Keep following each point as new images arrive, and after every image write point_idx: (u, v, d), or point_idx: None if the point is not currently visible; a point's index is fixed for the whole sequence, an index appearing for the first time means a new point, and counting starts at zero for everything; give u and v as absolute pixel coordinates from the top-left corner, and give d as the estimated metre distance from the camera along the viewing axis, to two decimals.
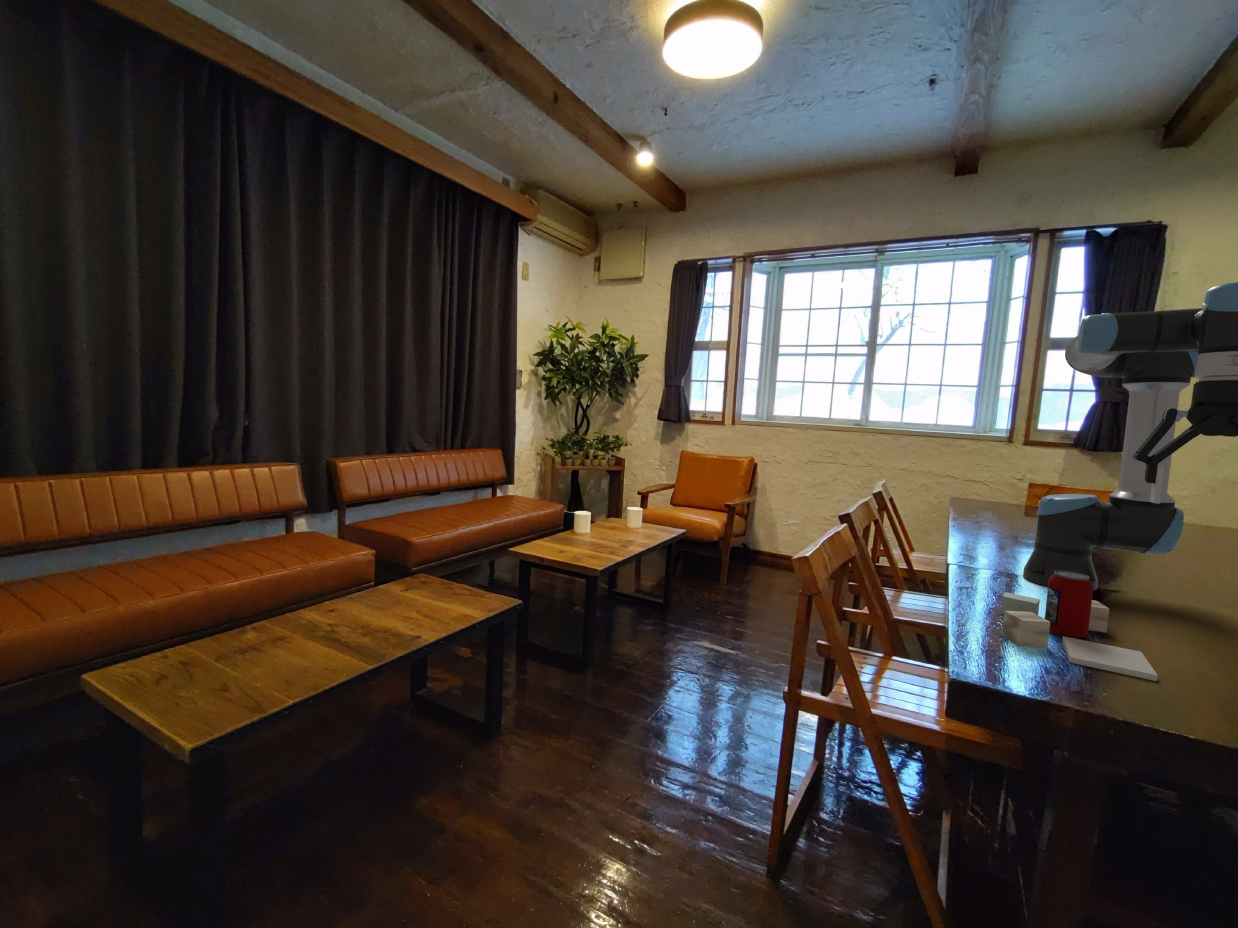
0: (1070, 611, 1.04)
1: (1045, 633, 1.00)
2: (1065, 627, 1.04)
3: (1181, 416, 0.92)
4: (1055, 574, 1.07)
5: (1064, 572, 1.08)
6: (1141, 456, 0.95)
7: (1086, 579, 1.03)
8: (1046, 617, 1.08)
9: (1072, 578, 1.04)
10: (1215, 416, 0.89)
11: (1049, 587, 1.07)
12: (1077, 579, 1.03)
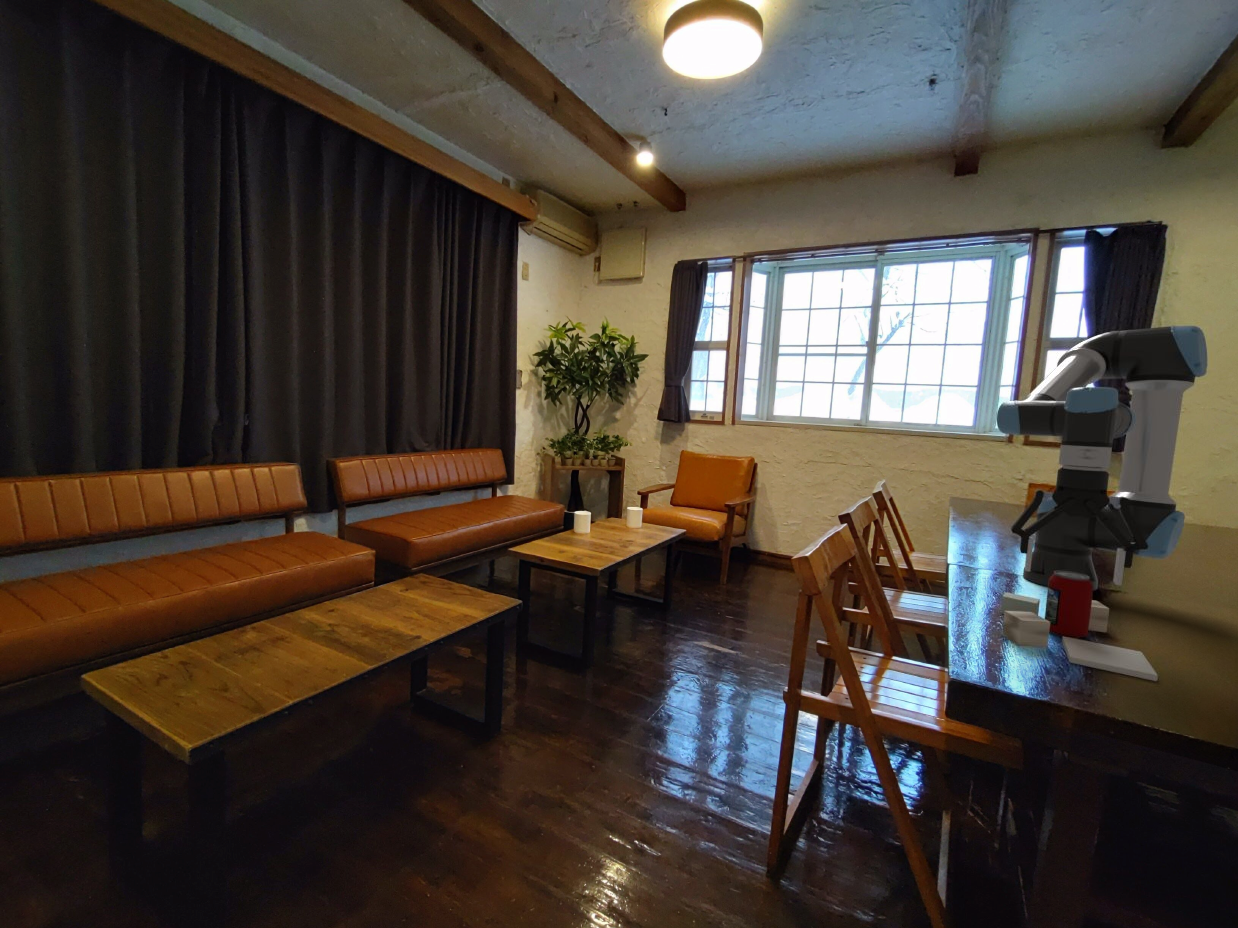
0: (1070, 611, 1.04)
1: (1044, 633, 1.00)
2: (1065, 627, 1.04)
3: (1047, 497, 1.07)
4: (1055, 574, 1.07)
5: (1064, 572, 1.08)
6: (1015, 530, 1.09)
7: (1086, 579, 1.03)
8: (1046, 617, 1.08)
9: (1072, 578, 1.04)
10: (1072, 499, 1.04)
11: (1049, 587, 1.07)
12: (1077, 579, 1.03)
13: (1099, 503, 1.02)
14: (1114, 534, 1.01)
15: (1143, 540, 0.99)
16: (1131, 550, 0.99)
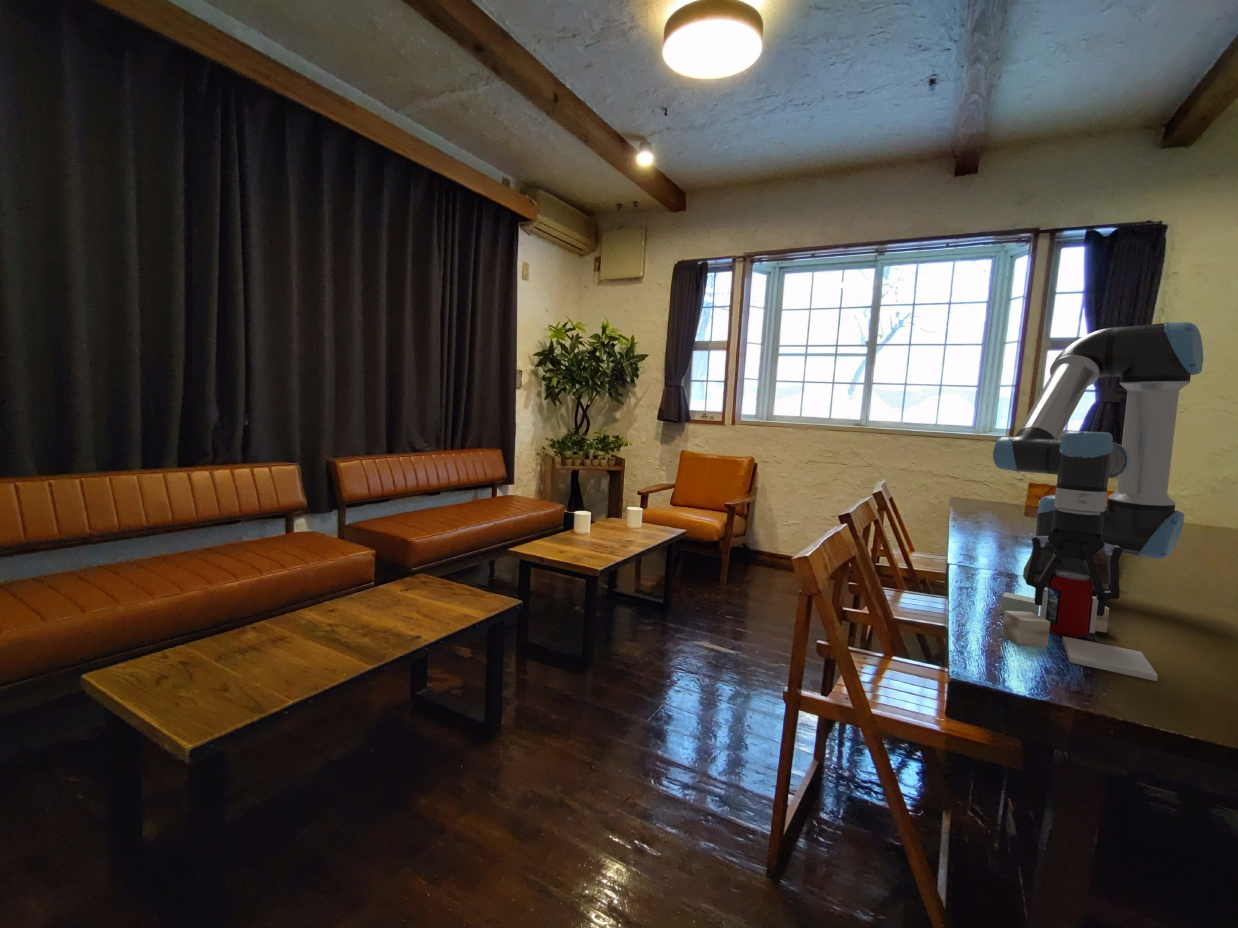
0: (1070, 611, 1.04)
1: (1044, 633, 1.00)
2: (1065, 627, 1.04)
3: (1044, 542, 1.08)
4: (1055, 574, 1.07)
5: (1064, 572, 1.08)
6: (1029, 581, 1.09)
7: (1086, 579, 1.03)
8: (1046, 617, 1.08)
9: (1072, 578, 1.04)
10: (1067, 542, 1.04)
11: (1049, 587, 1.07)
12: (1077, 579, 1.03)
13: (1093, 545, 1.03)
14: (1094, 580, 1.03)
15: (1117, 590, 1.01)
16: (1102, 599, 1.02)
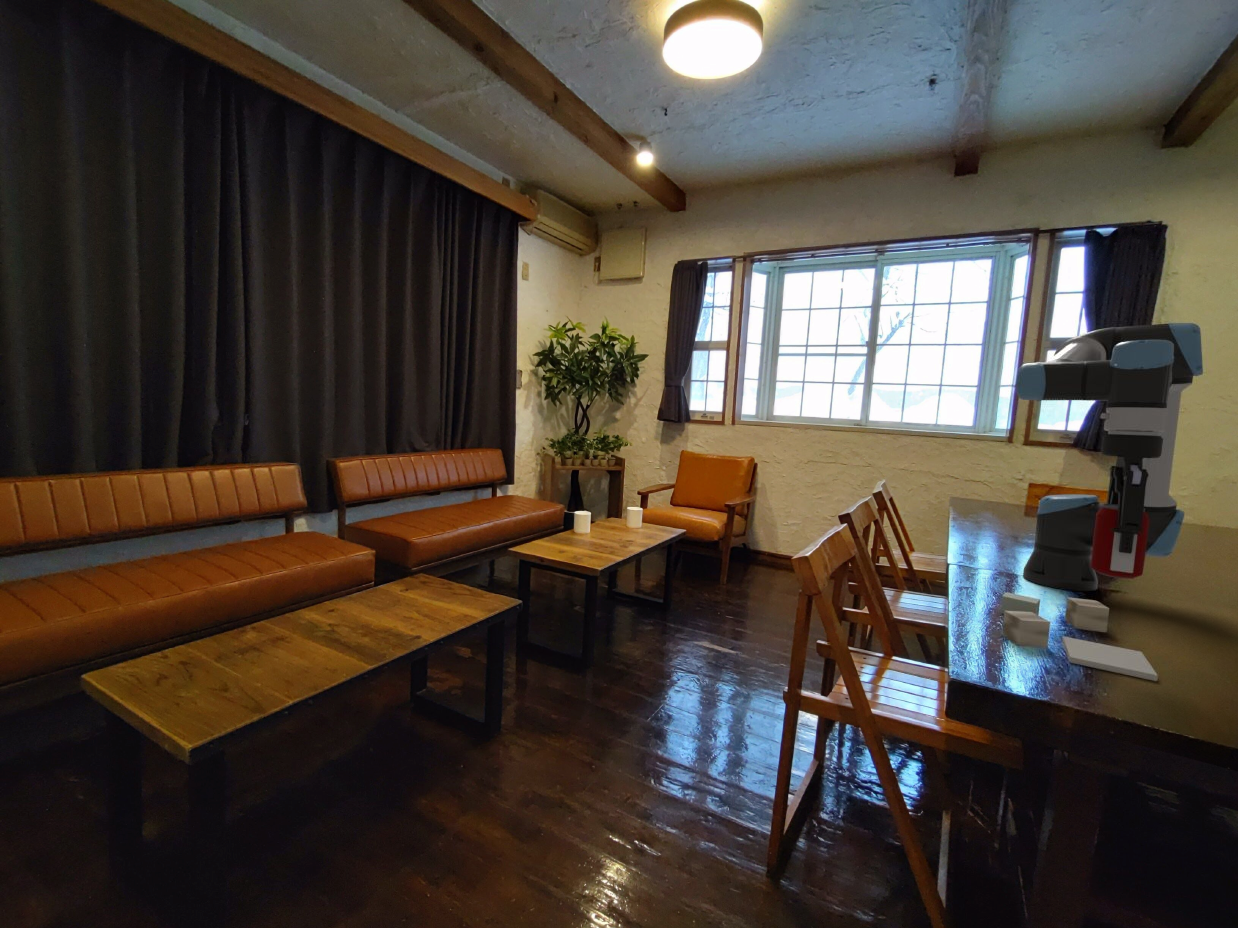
0: (1093, 540, 0.95)
1: (1044, 633, 1.00)
2: (1091, 558, 0.96)
3: None
4: None
5: None
6: None
7: (1112, 508, 0.92)
8: None
9: None
10: (1111, 467, 0.94)
11: None
12: (1103, 506, 0.94)
13: (1122, 470, 0.91)
14: (1118, 510, 0.91)
15: (1121, 520, 0.88)
16: (1111, 529, 0.90)
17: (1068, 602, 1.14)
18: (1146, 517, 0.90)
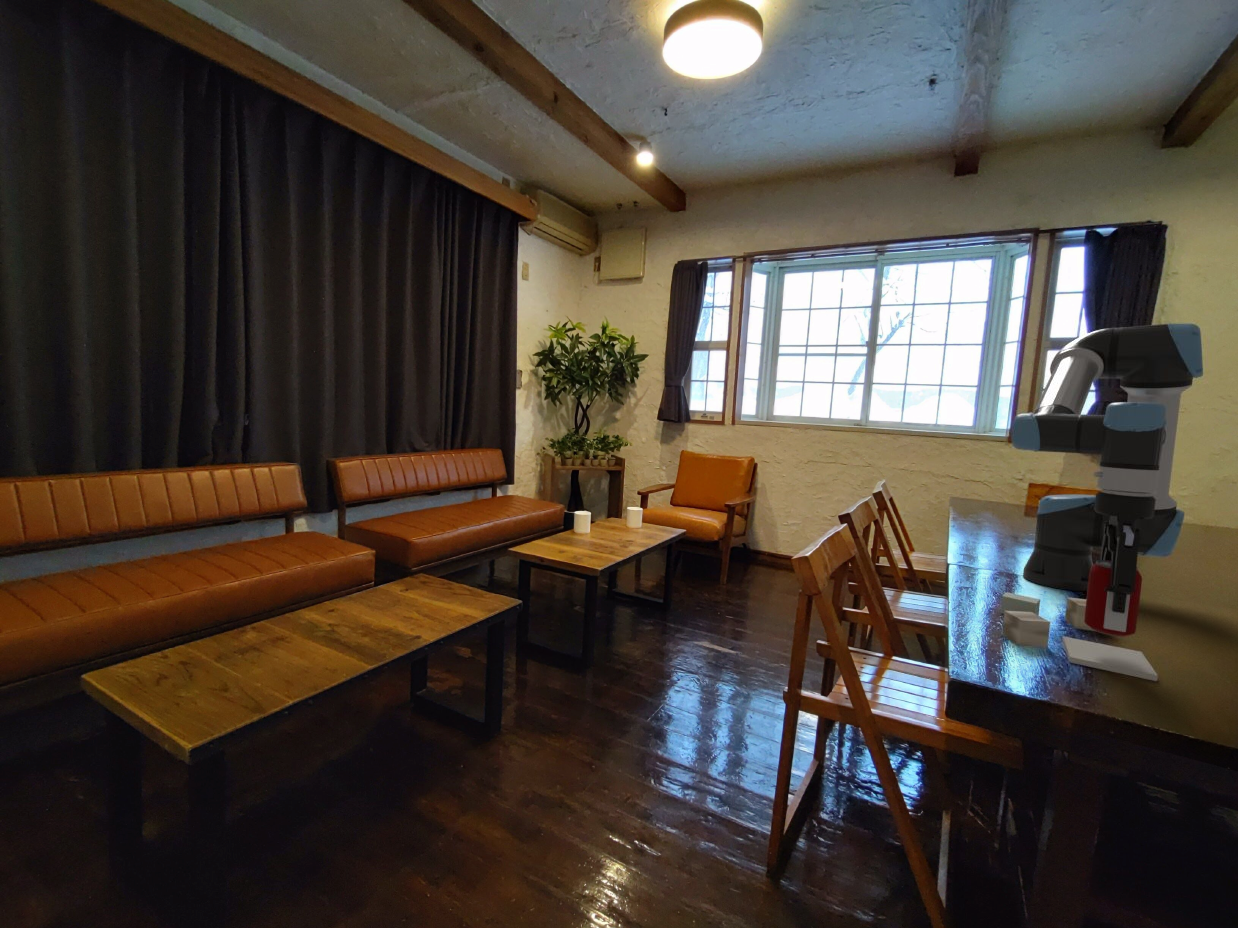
0: None
1: (1044, 633, 1.00)
2: None
3: None
4: None
5: None
6: None
7: (1105, 566, 0.93)
8: None
9: (1096, 562, 0.95)
10: (1104, 524, 0.95)
11: None
12: (1097, 563, 0.95)
13: (1115, 529, 0.92)
14: (1111, 569, 0.92)
15: (1114, 581, 0.89)
16: (1104, 588, 0.91)
17: (1068, 602, 1.14)
18: (1139, 576, 0.91)
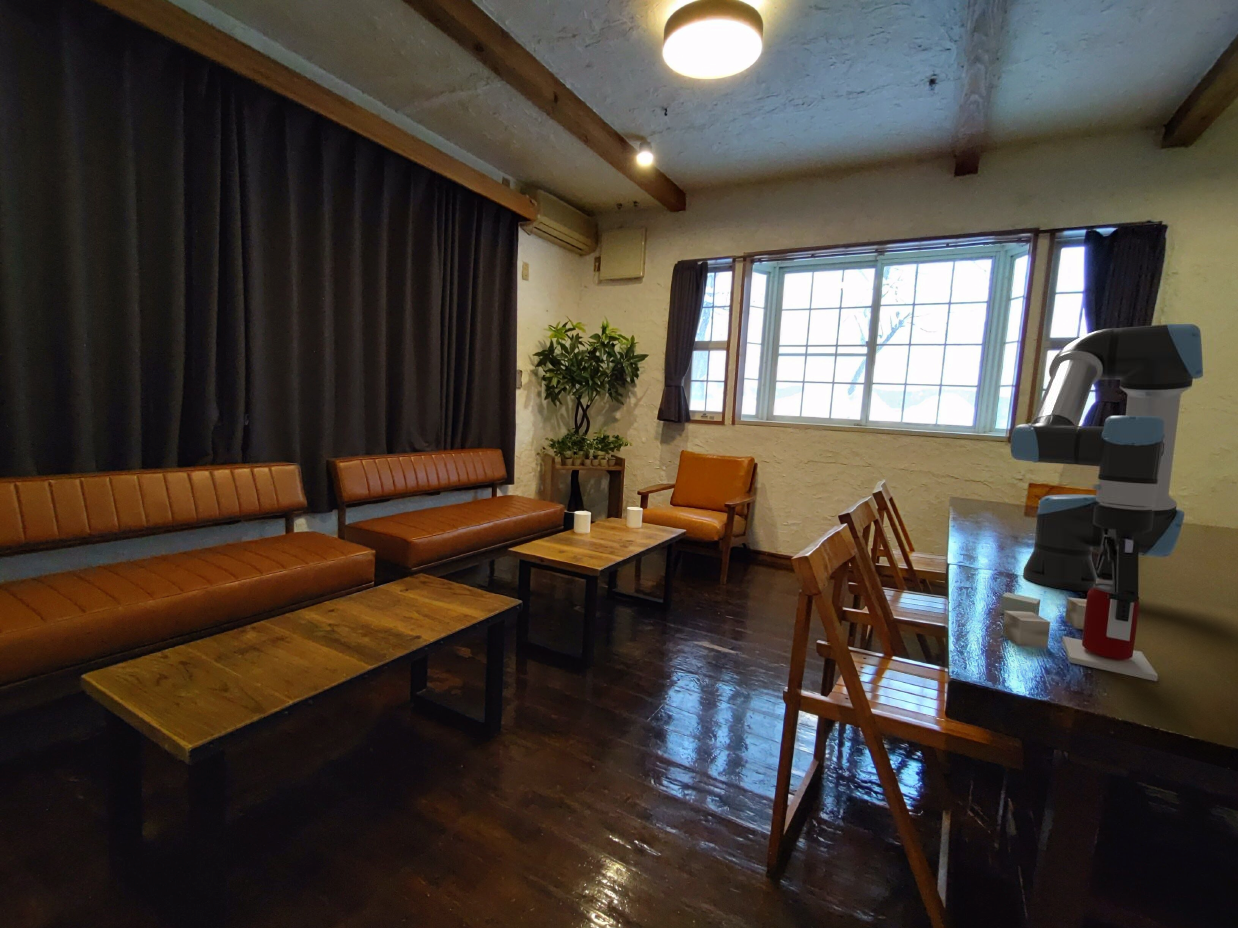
0: (1084, 619, 0.97)
1: (1044, 633, 1.00)
2: None
3: None
4: None
5: None
6: (1095, 567, 1.03)
7: (1103, 590, 0.93)
8: None
9: None
10: (1103, 537, 0.96)
11: None
12: (1094, 587, 0.95)
13: (1114, 543, 0.92)
14: (1113, 579, 0.90)
15: (1117, 588, 0.87)
16: (1107, 596, 0.89)
17: (1068, 602, 1.14)
18: None
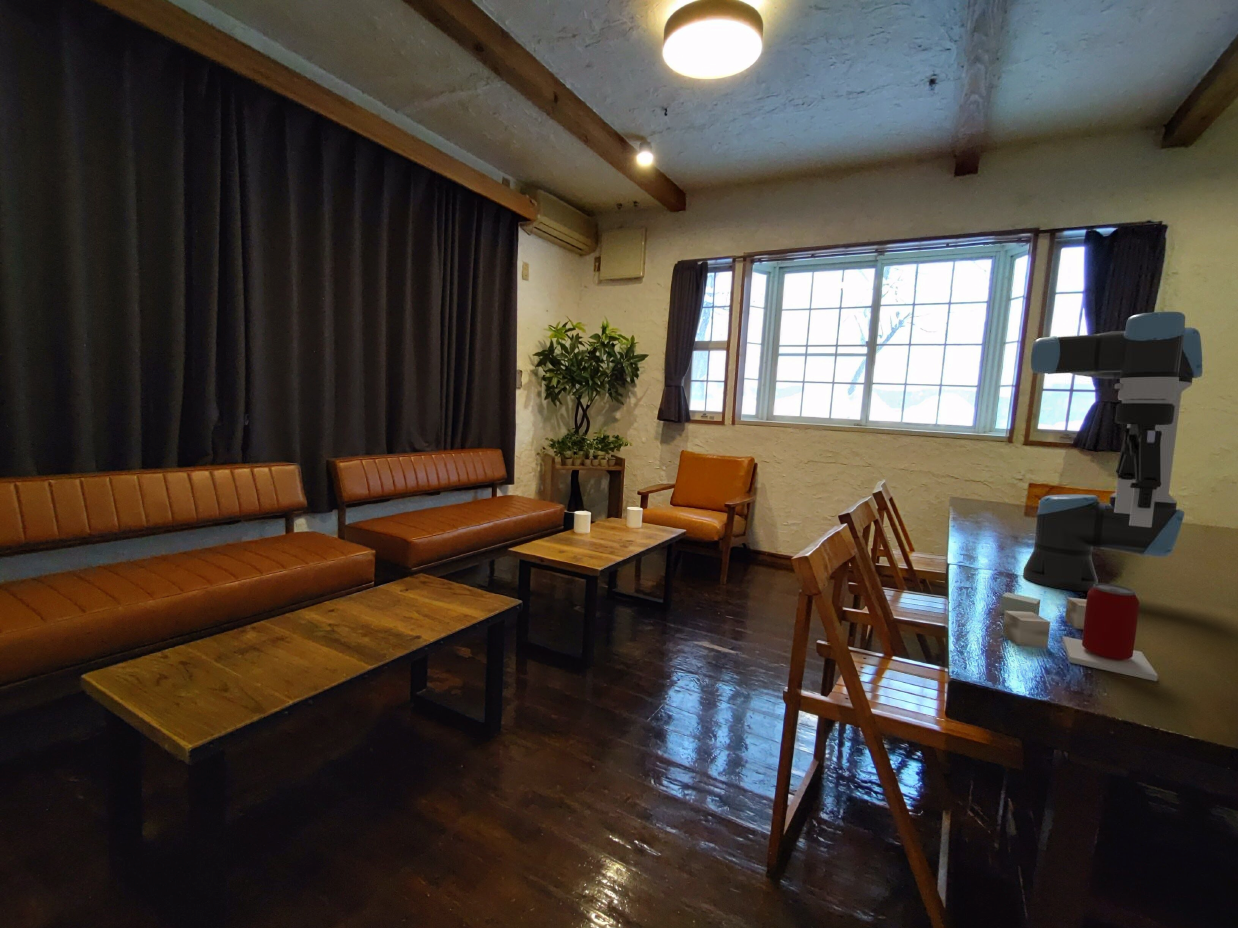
0: (1084, 619, 0.97)
1: (1044, 633, 1.00)
2: None
3: None
4: None
5: (1125, 589, 0.94)
6: (1116, 470, 1.06)
7: (1103, 590, 0.93)
8: None
9: None
10: (1125, 435, 0.99)
11: None
12: (1094, 587, 0.95)
13: (1136, 438, 0.95)
14: (1135, 470, 0.94)
15: (1140, 475, 0.91)
16: (1130, 486, 0.93)
17: (1068, 602, 1.14)
18: (1136, 601, 0.91)
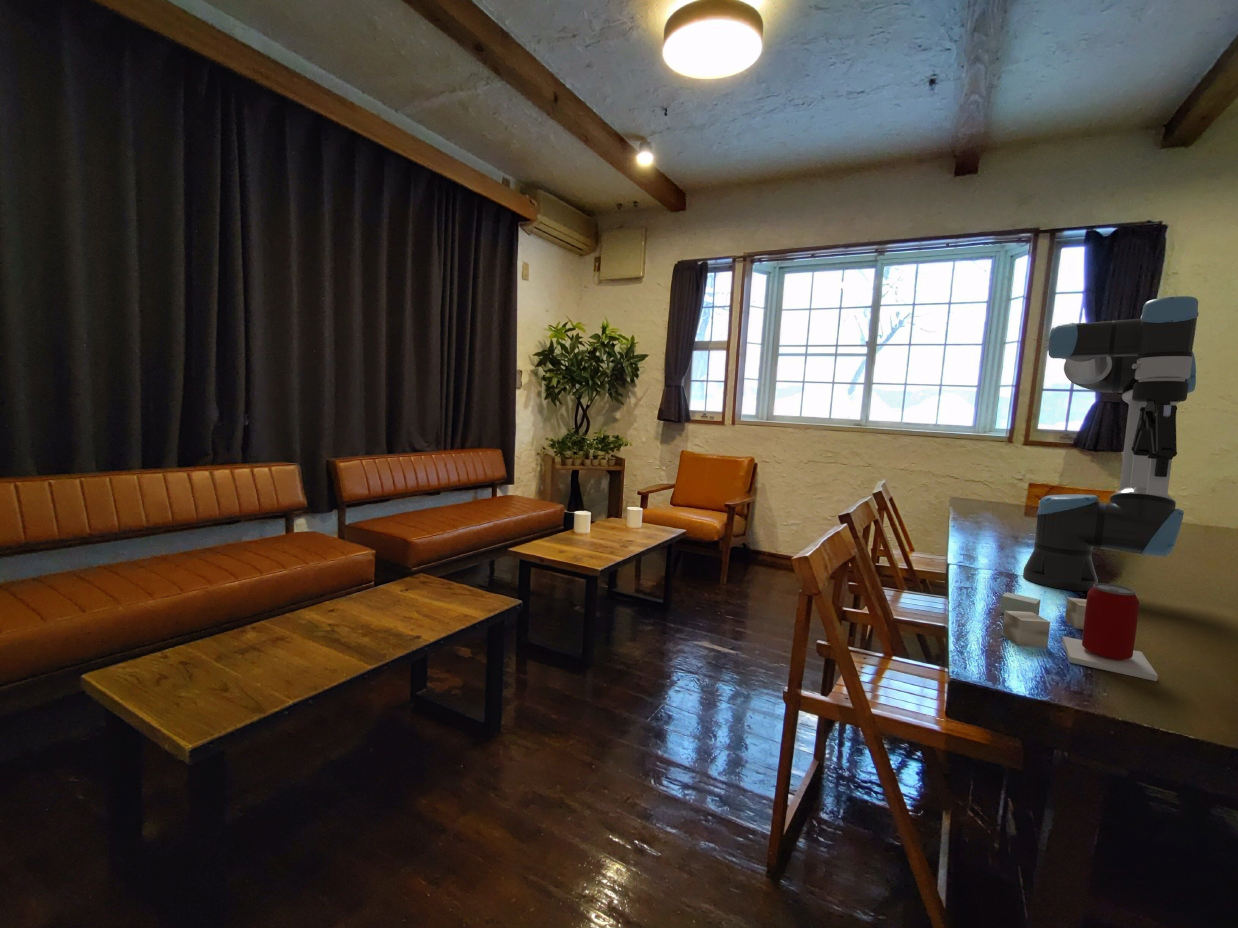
0: (1084, 619, 0.97)
1: (1044, 633, 1.00)
2: None
3: None
4: None
5: (1125, 589, 0.94)
6: (1132, 447, 1.13)
7: (1103, 590, 0.93)
8: None
9: None
10: (1141, 412, 1.06)
11: None
12: (1094, 587, 0.95)
13: (1152, 413, 1.03)
14: (1152, 443, 1.01)
15: (1157, 446, 0.98)
16: (1148, 456, 1.00)
17: (1068, 602, 1.14)
18: (1136, 601, 0.91)
